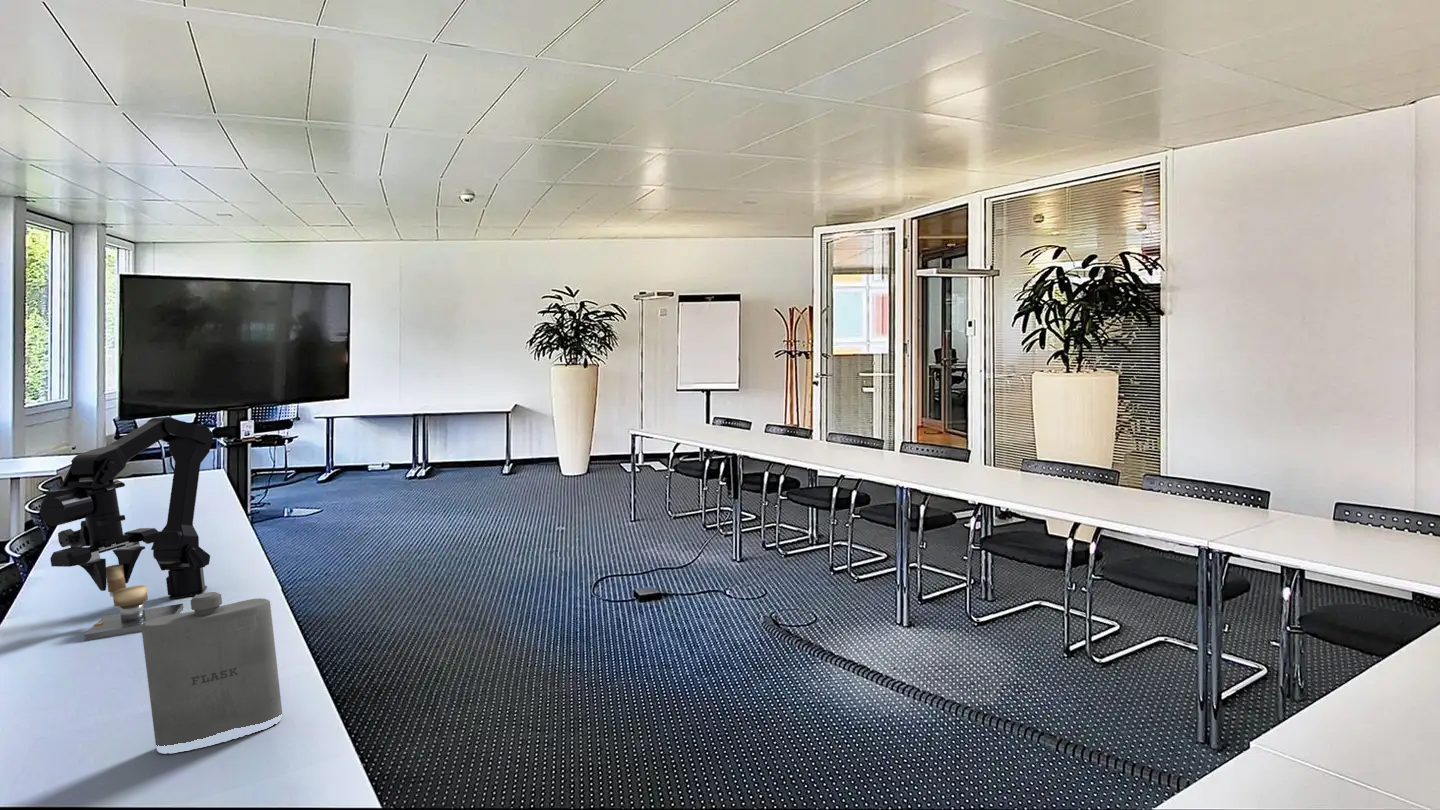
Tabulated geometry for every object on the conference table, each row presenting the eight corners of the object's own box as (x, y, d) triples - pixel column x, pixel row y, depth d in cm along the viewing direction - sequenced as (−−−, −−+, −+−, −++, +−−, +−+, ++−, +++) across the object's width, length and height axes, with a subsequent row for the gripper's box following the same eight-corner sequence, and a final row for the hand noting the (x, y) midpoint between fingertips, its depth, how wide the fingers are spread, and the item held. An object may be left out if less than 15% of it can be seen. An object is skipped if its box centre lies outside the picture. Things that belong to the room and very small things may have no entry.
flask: (155, 762, 105) (136, 612, 104) (157, 745, 110) (140, 601, 109) (284, 727, 113) (269, 587, 112) (281, 712, 118) (266, 578, 117)
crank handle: (152, 599, 167) (148, 566, 166) (121, 607, 162) (117, 574, 161) (130, 593, 172) (126, 562, 172) (99, 601, 167) (95, 569, 167)
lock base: (183, 608, 175) (181, 588, 175) (169, 626, 163) (167, 605, 163) (105, 621, 169) (102, 600, 169) (84, 640, 158) (82, 618, 157)
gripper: (118, 503, 178) (130, 572, 179) (24, 525, 160) (38, 601, 162) (156, 502, 174) (167, 572, 176) (64, 525, 157) (78, 603, 158)
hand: (114, 586), depth 168 cm, fingers open, 4 cm apart
